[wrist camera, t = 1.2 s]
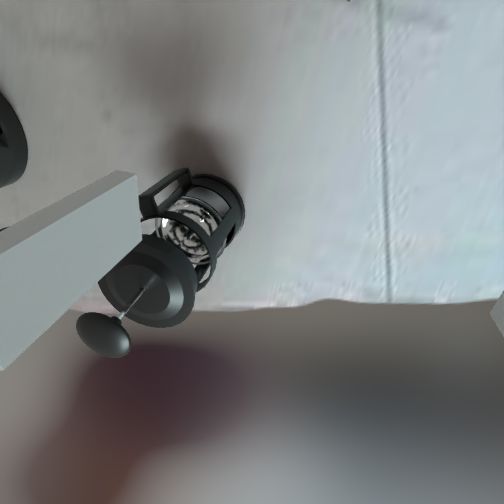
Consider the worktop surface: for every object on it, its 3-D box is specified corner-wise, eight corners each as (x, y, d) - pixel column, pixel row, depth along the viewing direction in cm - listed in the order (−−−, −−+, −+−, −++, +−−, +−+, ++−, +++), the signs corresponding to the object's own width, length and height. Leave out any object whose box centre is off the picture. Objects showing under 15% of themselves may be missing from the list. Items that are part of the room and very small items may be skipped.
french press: (255, 241, 43) (186, 392, 24) (191, 251, 46) (85, 391, 27) (227, 151, 38) (111, 252, 19) (158, 169, 41) (-2, 271, 22)
